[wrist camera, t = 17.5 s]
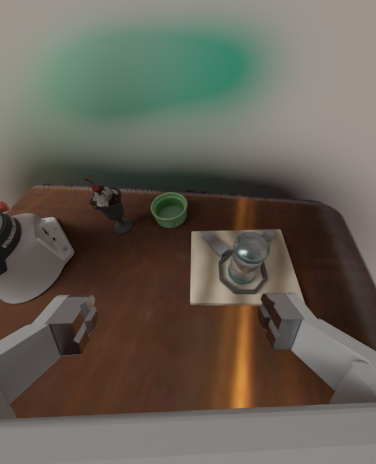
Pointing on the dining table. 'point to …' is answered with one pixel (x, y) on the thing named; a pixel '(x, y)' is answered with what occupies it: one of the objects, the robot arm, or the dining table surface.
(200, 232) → the board
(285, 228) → the dining table surface
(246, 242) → the teal-capped glass jar
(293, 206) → the dining table surface
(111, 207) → the sundae
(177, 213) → the ramekin
